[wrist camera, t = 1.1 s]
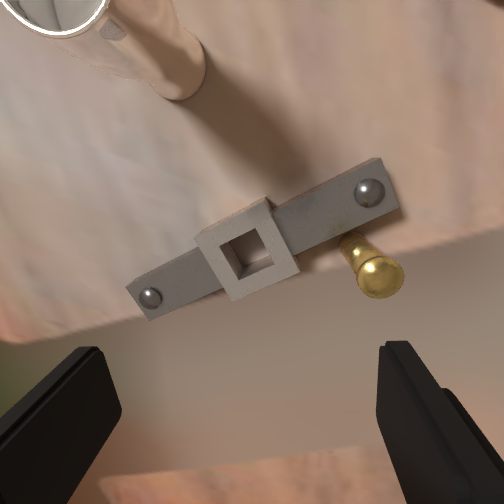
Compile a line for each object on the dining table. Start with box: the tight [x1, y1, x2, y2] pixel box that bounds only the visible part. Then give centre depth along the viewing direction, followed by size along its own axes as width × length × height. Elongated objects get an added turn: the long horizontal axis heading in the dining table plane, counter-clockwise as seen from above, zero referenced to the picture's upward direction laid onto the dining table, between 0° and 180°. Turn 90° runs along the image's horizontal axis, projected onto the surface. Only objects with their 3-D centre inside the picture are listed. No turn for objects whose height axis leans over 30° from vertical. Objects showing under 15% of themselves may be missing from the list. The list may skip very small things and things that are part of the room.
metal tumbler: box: [0, 0, 206, 100], centre depth 19 cm, size 7×7×15 cm
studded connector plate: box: [126, 158, 399, 321], centre depth 29 cm, size 30×8×4 cm, turn 118°
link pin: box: [339, 233, 404, 299], centre depth 25 cm, size 3×3×9 cm
